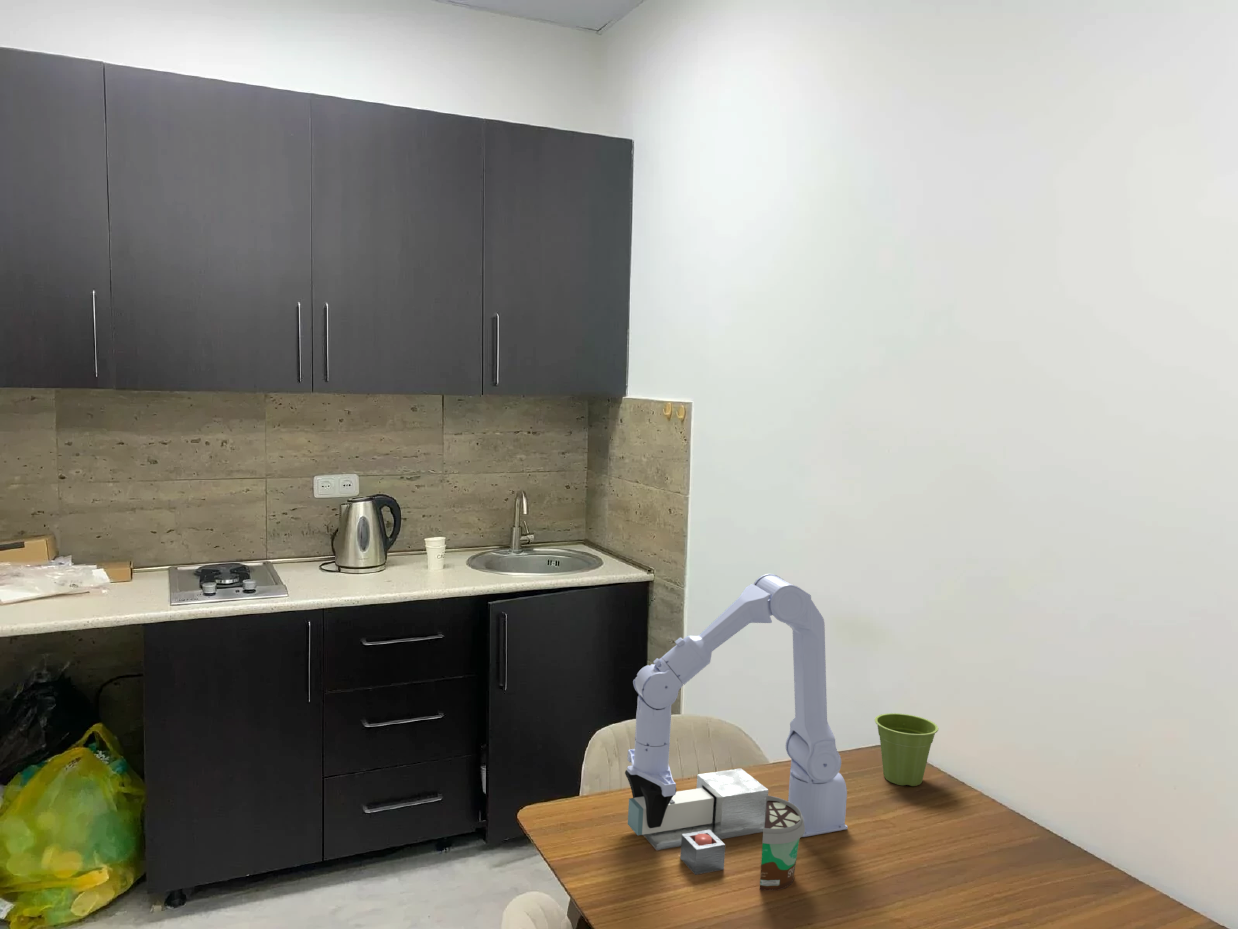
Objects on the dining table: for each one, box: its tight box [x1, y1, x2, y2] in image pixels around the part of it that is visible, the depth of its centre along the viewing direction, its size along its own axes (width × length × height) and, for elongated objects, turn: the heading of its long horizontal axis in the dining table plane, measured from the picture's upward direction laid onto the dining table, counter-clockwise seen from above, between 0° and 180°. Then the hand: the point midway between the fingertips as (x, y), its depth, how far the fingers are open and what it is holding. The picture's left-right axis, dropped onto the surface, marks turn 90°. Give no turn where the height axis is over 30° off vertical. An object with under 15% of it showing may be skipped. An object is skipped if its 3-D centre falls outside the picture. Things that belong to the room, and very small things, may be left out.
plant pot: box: [874, 712, 939, 787], centre depth 175 cm, size 12×12×11 cm
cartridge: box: [627, 788, 714, 836], centre depth 150 cm, size 14×4×5 cm, turn 113°
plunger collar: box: [679, 830, 726, 876], centre depth 140 cm, size 5×5×4 cm
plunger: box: [695, 834, 712, 846], centre depth 140 cm, size 3×3×4 cm
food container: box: [759, 794, 805, 891], centre depth 137 cm, size 12×6×10 cm, turn 168°
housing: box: [642, 767, 769, 851], centre depth 152 cm, size 21×10×7 cm, turn 113°
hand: (648, 819), depth 149 cm, fingers open, 4 cm apart
